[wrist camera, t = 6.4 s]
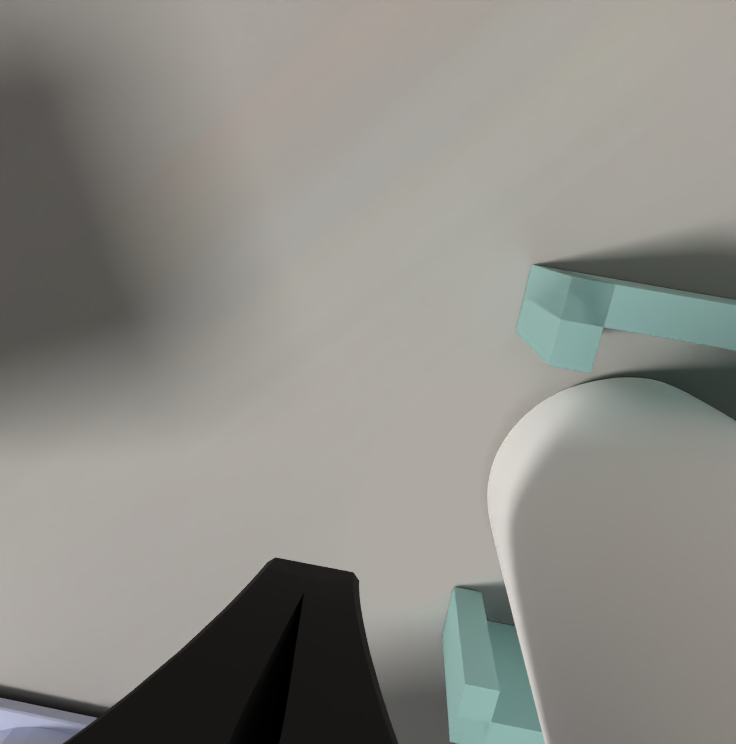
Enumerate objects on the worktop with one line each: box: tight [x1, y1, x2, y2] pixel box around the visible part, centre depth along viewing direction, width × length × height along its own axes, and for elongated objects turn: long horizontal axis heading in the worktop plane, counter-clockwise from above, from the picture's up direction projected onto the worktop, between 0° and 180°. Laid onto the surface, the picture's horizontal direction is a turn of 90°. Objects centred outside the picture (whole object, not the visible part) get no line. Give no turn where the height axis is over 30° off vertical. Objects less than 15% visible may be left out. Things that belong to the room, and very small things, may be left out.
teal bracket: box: [442, 265, 736, 744], centre depth 13 cm, size 11×9×4 cm
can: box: [487, 377, 736, 744], centre depth 9 cm, size 6×6×12 cm
